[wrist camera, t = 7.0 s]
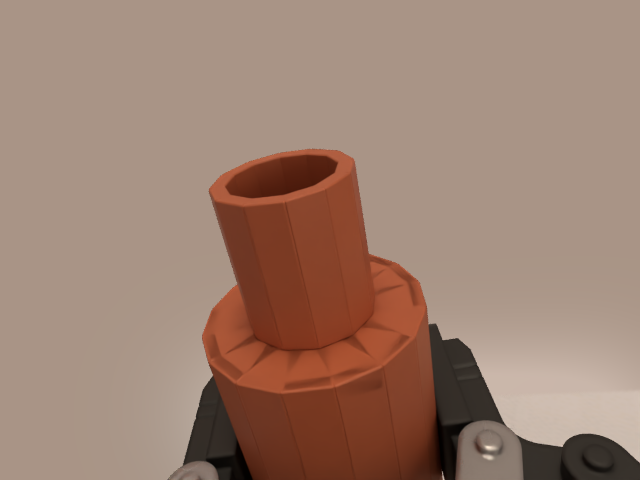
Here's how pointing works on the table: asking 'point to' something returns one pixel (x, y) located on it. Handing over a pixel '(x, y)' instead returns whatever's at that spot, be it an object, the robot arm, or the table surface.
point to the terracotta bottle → (318, 330)
